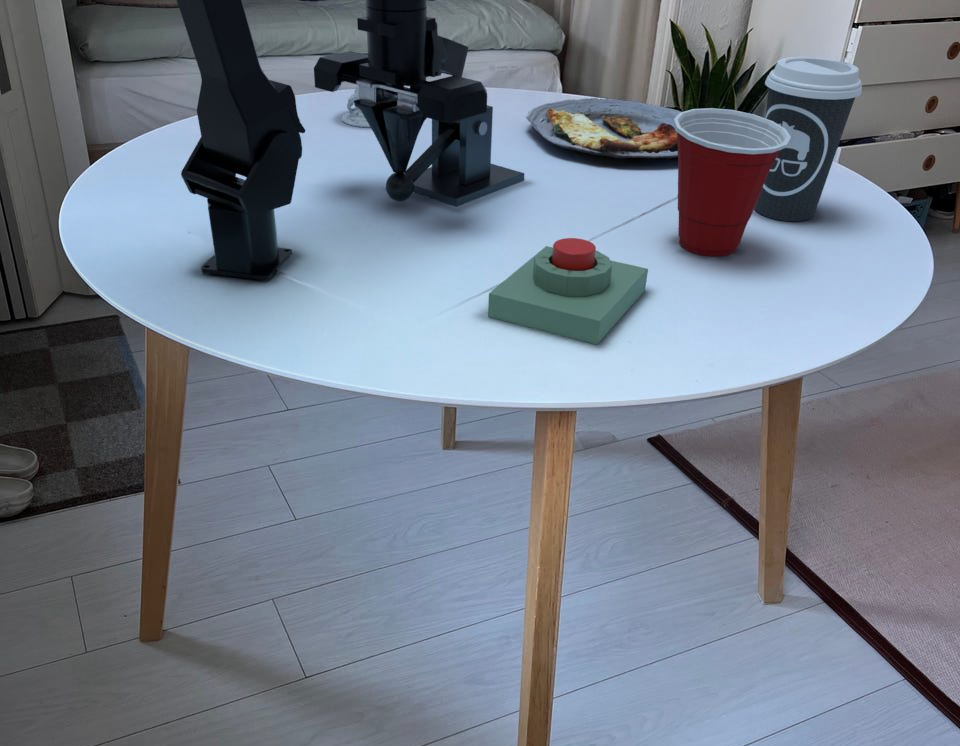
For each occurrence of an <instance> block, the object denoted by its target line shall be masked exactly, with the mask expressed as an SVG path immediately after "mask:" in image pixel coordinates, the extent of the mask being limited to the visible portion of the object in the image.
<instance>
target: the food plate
mask: <svg viewBox="0 0 960 746" xmlns="http://www.w3.org/2000/svg"><path fill="white" fill-rule="evenodd" d="M681 112H682V111H680V110H678V109H674V108H669V107H665V106H659V105H654V104H648V103H645V102H639V101H632V100H623V99H612V98H601V97H591V98H580V99H578V98H577V99H575V98H573V99H563V100H559V101H554V102H546V103H544V104H541V105H538V106H535V107H533V108H531V109H530V110H529V111H528V114H527V115H526V116H525V119H526V121H528V122H529V123H530V125H531V126H532V127H533V128H534V130H535V131H537V132H538V133H539V135H541V136H542V137H543V138H544V140H546V141H548V142H549V143H551V144H552V145H555V146H557V147H559V148H563V149H567V150H570V151H571V150H572V151H576V152H579V153H584V154H590V155H594V156H599V157H600V156H603V157H610V158H616V159H618V160H620V159H628V158H629V159H630V158H632V159H635V158H636V159H640V158H641V159H646V160H648V159H658V158H662V159H668V160H671V159H676V158H678V143H677V131H676V128H675V125H674V119H675V118H676V116H677V115H678V114H679V113H681Z"/></svg>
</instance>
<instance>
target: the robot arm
mask: <svg viewBox="0 0 960 746" xmlns="http://www.w3.org/2000/svg"><path fill="white" fill-rule="evenodd" d="M427 1H430V2H433V1H435V0H365V14H366V15H365V16H361V17H357V18H356V21H357V30H358V31H362V32H366V38H367V39H366V41H367V54H365V53H360V52H356V51H352V50H349V51H344V52H340V53H334V54H330V55H329V54H328V55H324V56H319V58H318V59H317V61H316V63H315V65H314V66H313V78H314V88H316V89H320V90H323V91H327V92H330V93H335V92H337V91H338V90H339V88H340V87H341V86H342V83H345V82H346V83H349V84H352V85H353V84H354V85H357V86H358V85H359V99H357V100H354V104H353V106H354V108H355V107H358V108H359V109H360V110H361V112H362V113H363V115H364V117H365V119H366V120H367V122H368V124H369V125H370V127H369V128H370V129H371V131H372V132H373V134H374V136H375V138H376V140H377V142H378V145H379V146H380V148H381V150H382V152H383V154H384V157H385V158H386V160H387V162H388V164H389V166H390V168H391V170H392V172H393V173H398V174H401V173H404V172H405V171H406V170H407V169H408V165H409V163H410V159H411V157H412V154H413V152H414V148H415V145H416V142H417V139H418V136H419V134H420V131H421V129H422V127H423V125H424V122H425V121H426V120H427V119H430V120H432V119H434V120H437V121H441V122H455V121H459V120H462V119H466V118H469V117H472V116H476V115H479V114H483V113H486V112H487V105H488V91H487V89H486V87H485V86H484V84H483V83H482V81H479V80H475V79H471V78H468V77H467V78H466V77H464V76H463V74H464V70H465V66H466V61H467V58H468V57H467V56H468V53H469V46H467V45H464V44H462V43H459V42H457V41H455V40H453V39H450V38H446V37H444V36H441V35H439V33H438V23H437V21H436V17H431V16H427V15H428V7H427V6H428V4H427V3H428V2H427ZM176 3H177V5H178V8H179V11H180V14H181V18H182V21H183V24H184V27H185V30H186V33H187V36H188V39H189V42H190V45H191V48H192V51H193V54H194V57H195V62H196V64H197V68H198V70H199V73H200V79H201V82H200V90H199V93H198V100H197V107H196V115H197V120H198V127H199V132H200V138H199V140H198V141H197V143H196V145H195V146H194V149H193V150H192V152H191V153H190V156H189V158H188V159H187V161H186V162H185V164H184V166H183V167H182V170H181V172H180V175H181V178H182V180H183V182H184V184H185V185H186V188H187V191H188V192H189V193H190V194H193V195H197V196H200V197H202V198H206V201H207V211H208V217H209V225H210V231H211V238H212V245H213V251H214V255H213V256H212V257H210V258H209V259H208V260H207V261H206V262H204V263H203V264H202V265H201V266H200V269H201V273H203V274H209V275H218V276H224V277H225V276H227V277H232V278H241V279H250V280H257V281H268V280H270V279H271V278H272V277H273V276H274V275H275V274H276V273H277V272H278V269H279V268H280V267H281V266H282V265H283V264H284V263H285V262H286V261H287V260H288V259H289V258H290V257H291V256H292V255H293V249H291V248H286V247H279V244H278V242H279V241H278V233H277V232H278V231H277V225H276V215H275V210H276V209H279V208H283V207H285V206H289V205H290V204H291V203H292V201H293V195H294V189H295V183H296V176H297V174H298V173H297V172H298V167H299V160H300V159H301V158H302V156H303V142H302V136H301V134H305V133H306V129H305V127H304V126H303V124H302V123H301V121H300V120H301V119H300V118H299V115H298V114H299V113H298V109H297V108H298V107H297V101H296V95H295V92H294V90H293V88H292V86H291V85H290V84H287V83H283V82H279V81H276V80H272V79H269V77H268V76H267V75H266V74H265V72H264V70H263V69H262V67H261V63H260V61H259V57H258V52H257V50H256V46H255V42H254V39H253V35H252V32H251V28H250V25H249V21H248V17H247V13H246V10H245V7H244V2H243V0H176ZM442 74H444V75H449V76H447V77H443V78H438V79H435V80H434V79H433V80H431V81H430V80H429V81H428V80H427V78H429V77H431V78H436V77H440V76H442ZM237 175H239V176H241V177H245V179H244V178H241V177H238V176H237Z"/></svg>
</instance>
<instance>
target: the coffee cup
mask: <svg viewBox="0 0 960 746" xmlns="http://www.w3.org/2000/svg"><path fill="white" fill-rule="evenodd" d="M859 69H860V68H859V67H857V66H856V65H854V64H852V63H849V62H847V61H842V60H839V59H832V58H826V57H816V56H790V57H789V56H788V57H783V58H780V59H778V60H777V62H776V65H775V66H774V68H773V69H772V70H771V71H770V72H769V74H768V75H767V76H766V78H765V81H764V85H765V86H766V87H767V88H768V90H767V100H766V108H765V117H764V118H765V119H768V120H771V121H773V122H775V123H777V124H778V125H780V126H781V127H783V128H785V129H786V130H787V132H788V133H789V135H790V137H791V138H790V140H789V142H788V143H787V145H786V147H785V148H784V149H782V150H781V151H780V153H779V154H778V156H777V158H776V159H775V161H774V163H773V165H772V167H771V169H770V170H769V173H768V175H767V178H766V180H765V183H764V185H763V188H762V190H761V193H760V195H759V198H758V200H757V203H756V205H755V207H754V211H755V212H756V213H758V214H759V215H761V216H763V217H766V218H769V219H772V220H776V221H782V222H783V221H784V222H804V221H809V220H811V219H812V218H814V217H815V214H816V211H817V208H818V205H819V202H820V200H821V197H822V195H823V194H822V193H823V191H824V188H825V185H826V182H827V179H828V177H829V173H830V171H831V167H832V165H833V162H834V160H835V156H836V153H837V150H838V147H839V144H840V142H841V139H842V137H843V134H844V130H845V127H846V125H847V122H848V119H849V116H850V113H851V111H852V108H853V106H854V103H855V100H856V98H857V97H859V96H861V95H862V93H863V85H862V80H861V79H860V78H859V76H860V70H859Z"/></svg>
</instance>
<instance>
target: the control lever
mask: <svg viewBox="0 0 960 746" xmlns="http://www.w3.org/2000/svg"><path fill="white" fill-rule="evenodd" d="M445 124H446V127H447V129H446V130H445V131H444V132H443V133H442V134H441V135H440V136H439V137H438V138H437V139H436V140H435V142H434V143H433V144H432V143H431V145H430V146H428V148H427V149H425V151H423V153H422V154H421V155H419V157H418V158H416V160H415V161H414V162H413V163H412V164H411V165H410V166H409V167H407V169H406V171H405V172H404V173H401V174H398V173H395V172H393V173H391V174H390V175H389V176H388V177H387V179H386V181H385V192H386V194H387V195H388V198H390V199H391V200H393V201H395V202H398V203H399V202H400V203H402V202H406V201H408V200H409V199H411V197H412V196H413V195H414V182H415V181H416V180H417V179H418V178H419V177H420V176H421V175H422V174H423V173H424V172H425V171H426V170H427V169H428V168H430V167H431V166H432V163H433V162H434V161H435V160H436V159H437V158H438V157H439V156H440V155H441V154H442V153H443V152H444V151H445V150H446V149H447V148H448V147H449V146H450V145H451V144H452V143H453V142H454V141H455V140H459V141H460V120H459V121H455V122H445Z"/></svg>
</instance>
